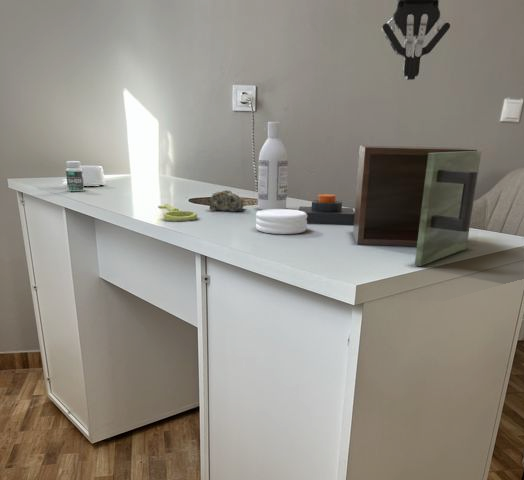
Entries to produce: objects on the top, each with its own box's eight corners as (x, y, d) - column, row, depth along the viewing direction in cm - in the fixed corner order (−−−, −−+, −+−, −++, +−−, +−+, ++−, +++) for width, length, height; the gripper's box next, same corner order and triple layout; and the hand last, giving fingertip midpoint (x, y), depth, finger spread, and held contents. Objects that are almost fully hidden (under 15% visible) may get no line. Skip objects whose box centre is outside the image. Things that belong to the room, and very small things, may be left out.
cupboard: (462, 248, 96) (477, 149, 90) (357, 244, 97) (365, 147, 91) (447, 235, 107) (459, 147, 101) (352, 232, 108) (359, 145, 102)
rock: (215, 207, 139) (215, 188, 137) (246, 208, 138) (246, 189, 136) (208, 211, 132) (208, 191, 131) (240, 212, 131) (240, 192, 130)
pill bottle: (66, 191, 164) (63, 161, 161) (68, 190, 169) (65, 160, 165) (83, 191, 165) (80, 162, 162) (85, 190, 169) (82, 161, 166)
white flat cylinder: (317, 231, 108) (318, 213, 107) (277, 236, 103) (277, 217, 101) (284, 224, 116) (285, 207, 114) (245, 228, 110) (246, 210, 109)
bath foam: (286, 207, 140) (289, 122, 133) (285, 211, 134) (289, 122, 127) (258, 207, 141) (260, 121, 133) (257, 210, 134) (258, 121, 127)
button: (334, 202, 123) (335, 194, 122) (335, 204, 119) (335, 196, 119) (318, 202, 123) (318, 194, 122) (318, 204, 120) (319, 195, 119)
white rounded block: (111, 185, 183) (110, 166, 181) (87, 187, 176) (85, 167, 174) (88, 183, 190) (86, 164, 187) (64, 185, 182) (61, 165, 180)
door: (498, 253, 92) (516, 152, 86) (455, 272, 79) (473, 154, 73) (460, 247, 95) (475, 150, 89) (414, 264, 82) (428, 152, 77)
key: (167, 212, 128) (167, 203, 127) (201, 219, 120) (201, 209, 119) (141, 215, 123) (140, 205, 123) (174, 222, 115) (174, 212, 115)
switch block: (351, 217, 127) (353, 199, 125) (354, 224, 117) (356, 205, 116) (299, 216, 128) (299, 198, 126) (297, 222, 118) (298, 203, 117)
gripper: (385, -31, 98) (377, 78, 105) (462, -33, 97) (449, 77, 103) (381, -21, 105) (374, 81, 112) (453, -22, 104) (441, 80, 110)
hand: (410, 79), depth 108 cm, fingers closed
